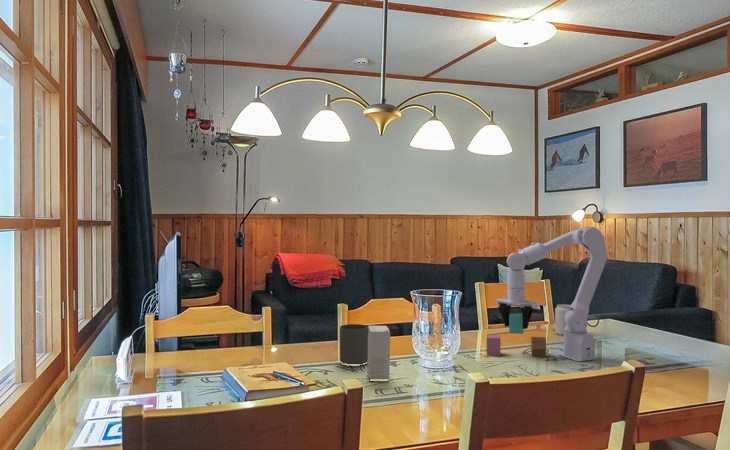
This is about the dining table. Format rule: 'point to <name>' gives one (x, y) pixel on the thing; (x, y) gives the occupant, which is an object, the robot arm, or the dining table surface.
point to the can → (560, 318)
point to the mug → (354, 344)
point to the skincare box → (378, 352)
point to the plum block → (493, 345)
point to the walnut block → (538, 347)
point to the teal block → (516, 323)
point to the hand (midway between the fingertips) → (516, 327)
